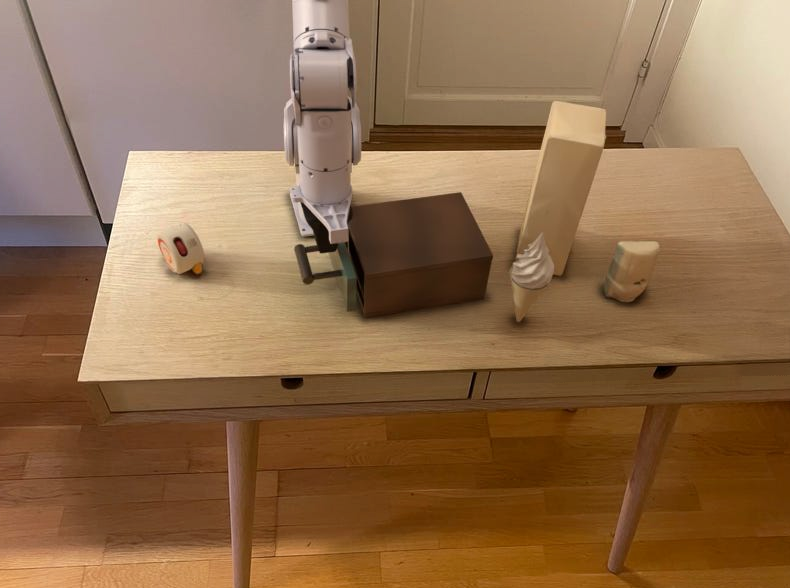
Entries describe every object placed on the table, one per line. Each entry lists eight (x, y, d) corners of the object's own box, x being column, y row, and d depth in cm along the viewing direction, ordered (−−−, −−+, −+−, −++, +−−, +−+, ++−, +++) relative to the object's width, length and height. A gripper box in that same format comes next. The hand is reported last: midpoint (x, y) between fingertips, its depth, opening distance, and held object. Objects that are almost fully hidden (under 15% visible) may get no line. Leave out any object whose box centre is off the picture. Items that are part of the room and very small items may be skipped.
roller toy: (189, 244, 102) (182, 211, 97) (213, 271, 99) (207, 238, 94) (159, 257, 100) (151, 223, 95) (182, 285, 97) (174, 251, 92)
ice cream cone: (507, 338, 94) (530, 249, 83) (493, 309, 97) (513, 219, 86) (544, 331, 95) (571, 242, 84) (529, 303, 99) (553, 213, 87)
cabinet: (365, 317, 95) (366, 274, 89) (342, 251, 103) (343, 207, 97) (484, 298, 99) (493, 255, 93) (454, 235, 106) (461, 191, 100)
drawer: (308, 318, 93) (306, 285, 89) (291, 256, 100) (289, 222, 96) (460, 294, 98) (465, 261, 93) (434, 236, 104) (438, 203, 100)
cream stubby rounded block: (621, 271, 104) (638, 226, 97) (652, 292, 101) (672, 247, 95) (595, 289, 101) (611, 244, 95) (626, 311, 99) (645, 267, 92)
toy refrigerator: (567, 278, 102) (610, 146, 86) (514, 268, 103) (546, 135, 86) (571, 240, 107) (612, 108, 91) (520, 231, 108) (551, 98, 91)
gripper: (277, 122, 86) (284, 215, 97) (301, 202, 77) (306, 294, 88) (337, 116, 88) (338, 208, 98) (367, 193, 79) (364, 285, 89)
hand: (326, 249), depth 93 cm, fingers closed
